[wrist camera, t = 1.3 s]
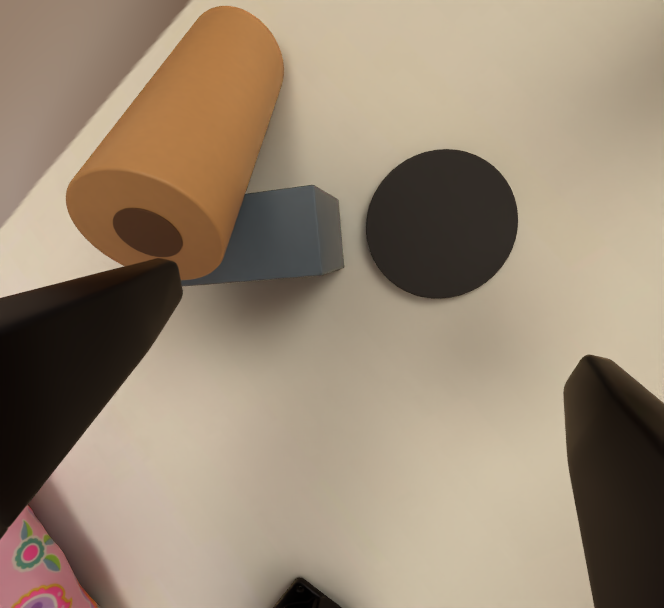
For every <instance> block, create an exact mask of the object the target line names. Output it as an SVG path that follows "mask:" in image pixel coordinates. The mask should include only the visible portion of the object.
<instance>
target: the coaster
mask: <svg viewBox="0 0 664 608" xmlns="http://www.w3.org/2000/svg"><path fill="white" fill-rule="evenodd" d="M517 228H518V213H517V206H516V201H515V198H514V195H513V193H512V190H511V188H510V186H509V185H508V183H507V181H506V180H505V178H504V177H503V176H502V174H501V173H500V172H499V171H498V170H497V169H496V168H495V167H494V166H492V165H491V164H490V163H488V162H487V161H486V160H484V159H482V158H480V157H478V156H476V155H473V154H471V153H468V152H464V151H459V150H450V149H443V150H433V151H428V152H424V153H421V154H418V155H416V156H414V157H412V158H409V159H407V160H406V161H404V162H403V163H401V164H400V165H398V166H397V167H396V168H395V169H393V170H392V171H391V172H390V173H389V174H388V175H387V176H386V177H385V179H384V180H383V181H382V182H381V184H380V185H379V187H378V188H377V190H376V192H375V194H374V196H373V198H372V201H371V203H370V206H369V210H368V214H367V222H366V234H367V241H368V245H369V249H370V252H371V255H372V257H373V259H374V261H375V263H376V265H377V266H378V268H379V269H380V270H381V272H382V273H383V274H384V275H385V276H386V277H387V278H388V279H389V280H390V281H391V282H392V283H393V284H395V285H396V286H397V287H399V288H401V289H403V290H404V291H406V292H409V293H411V294H414V295H417V296H421V297H427V298H450V297H455V296H459V295H462V294H465V293H468V292H470V291H472V290H474V289H476V288H478V287H480V286H481V285H483V284H484V283H486V282H487V281H488V280H489V279H491V278H492V277H493V276H494V275H495V274H496V273H497V272H498V271H499V269H500V268H501V267H502V266H503V264H504V263H505V261H506V260H507V258H508V256H509V254H510V252H511V250H512V248H513V245H514V242H515V239H516V234H517Z"/></svg>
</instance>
